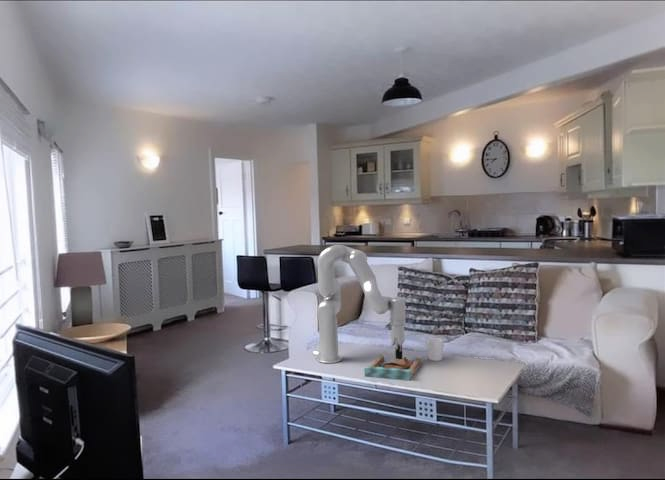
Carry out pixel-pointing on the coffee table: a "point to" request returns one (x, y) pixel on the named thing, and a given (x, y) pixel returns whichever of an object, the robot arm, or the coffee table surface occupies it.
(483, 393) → the coffee table surface
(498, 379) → the coffee table surface
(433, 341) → the white cup
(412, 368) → the teal open box
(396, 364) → the brown elongated piece
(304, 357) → the coffee table surface
